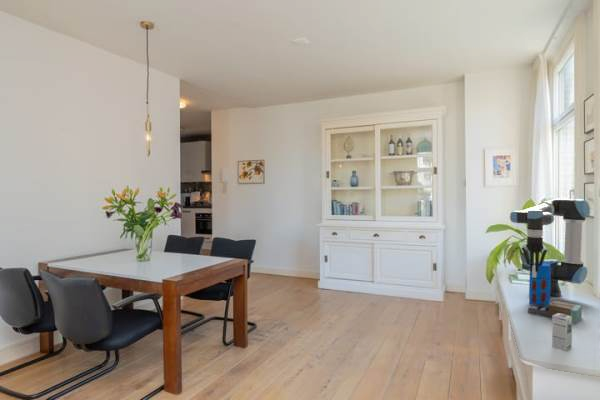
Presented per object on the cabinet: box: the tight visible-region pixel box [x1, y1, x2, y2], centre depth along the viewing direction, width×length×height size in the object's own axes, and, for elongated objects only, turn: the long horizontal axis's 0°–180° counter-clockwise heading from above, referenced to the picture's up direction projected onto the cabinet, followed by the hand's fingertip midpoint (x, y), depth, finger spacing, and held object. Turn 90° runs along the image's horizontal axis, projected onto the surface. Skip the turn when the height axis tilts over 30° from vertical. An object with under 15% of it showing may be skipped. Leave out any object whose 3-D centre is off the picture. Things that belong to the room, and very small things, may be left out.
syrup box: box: [551, 313, 573, 352], centre depth 164 cm, size 6×6×14 cm
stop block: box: [571, 304, 583, 325], centre depth 198 cm, size 13×3×7 cm, turn 133°
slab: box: [548, 300, 576, 316], centre depth 202 cm, size 12×10×4 cm
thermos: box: [528, 262, 551, 306], centre depth 225 cm, size 11×11×25 cm
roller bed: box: [527, 304, 555, 319], centre depth 206 cm, size 11×20×3 cm, turn 43°
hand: (534, 276), depth 213 cm, fingers closed
